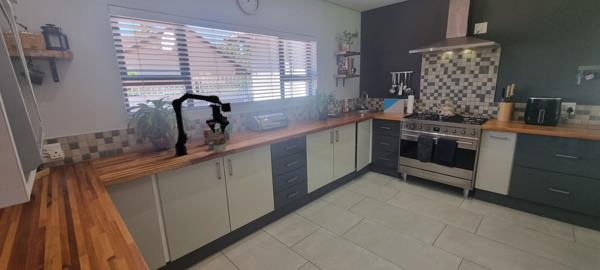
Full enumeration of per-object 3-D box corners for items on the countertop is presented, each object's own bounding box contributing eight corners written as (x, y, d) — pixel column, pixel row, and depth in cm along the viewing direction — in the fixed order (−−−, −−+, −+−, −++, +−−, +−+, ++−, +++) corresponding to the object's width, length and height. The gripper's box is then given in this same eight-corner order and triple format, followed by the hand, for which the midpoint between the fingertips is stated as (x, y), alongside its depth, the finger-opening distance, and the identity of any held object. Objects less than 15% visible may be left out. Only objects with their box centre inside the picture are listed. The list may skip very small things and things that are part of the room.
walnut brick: (217, 145, 182) (217, 139, 181) (213, 145, 184) (212, 138, 183) (225, 143, 189) (225, 136, 188) (221, 142, 191) (220, 136, 190)
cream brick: (219, 152, 184) (218, 145, 182) (214, 151, 185) (213, 145, 184) (226, 149, 191) (225, 143, 190) (221, 148, 192) (220, 142, 191)
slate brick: (211, 150, 189) (210, 144, 188) (208, 149, 192) (208, 143, 191) (221, 148, 194) (220, 142, 193) (218, 147, 198) (218, 141, 197)
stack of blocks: (225, 138, 226) (223, 125, 223) (229, 139, 223) (228, 125, 220) (204, 143, 209) (203, 129, 206) (209, 144, 205) (207, 130, 203)
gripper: (233, 111, 184) (235, 132, 187) (215, 110, 193) (217, 130, 196) (222, 113, 175) (224, 135, 178) (204, 112, 183) (206, 133, 187)
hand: (218, 133), depth 185 cm, fingers open, 9 cm apart
